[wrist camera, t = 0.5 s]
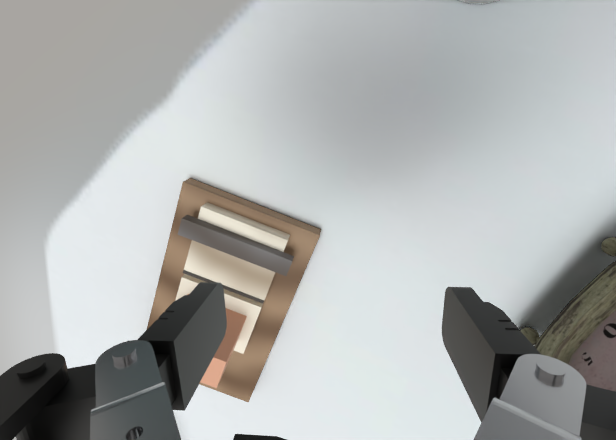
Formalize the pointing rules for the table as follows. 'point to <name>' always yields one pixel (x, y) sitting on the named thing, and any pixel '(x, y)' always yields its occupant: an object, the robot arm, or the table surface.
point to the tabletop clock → (586, 329)
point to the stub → (238, 327)
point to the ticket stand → (236, 267)
